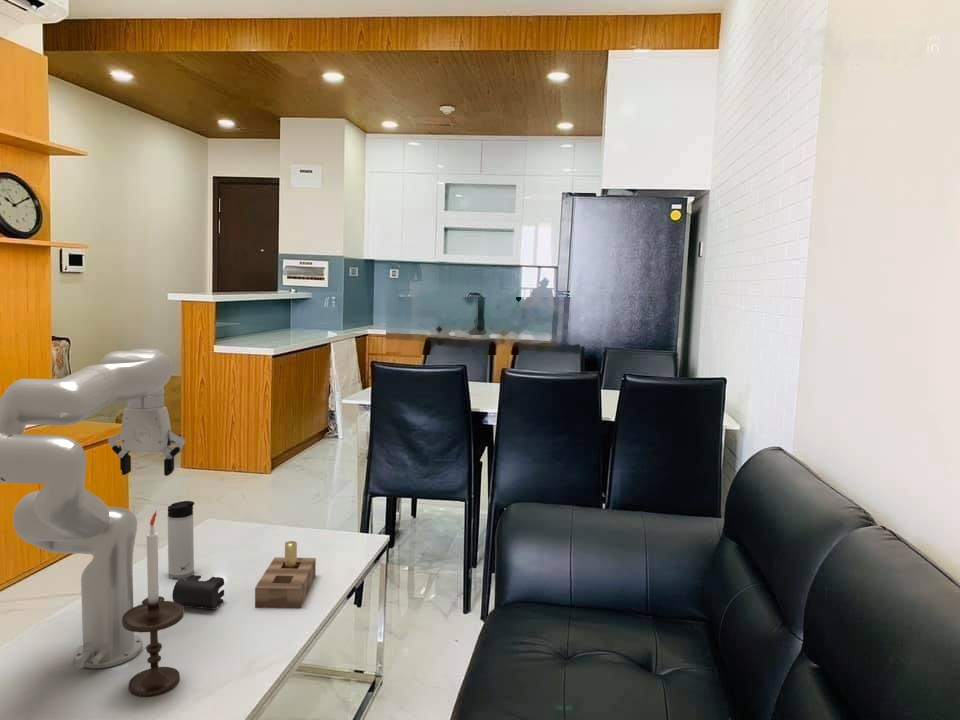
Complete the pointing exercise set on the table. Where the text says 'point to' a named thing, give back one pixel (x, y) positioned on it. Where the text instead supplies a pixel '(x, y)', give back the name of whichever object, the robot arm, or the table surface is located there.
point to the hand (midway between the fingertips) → (147, 473)
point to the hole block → (285, 584)
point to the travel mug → (180, 539)
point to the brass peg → (291, 555)
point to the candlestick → (153, 628)
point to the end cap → (198, 592)
